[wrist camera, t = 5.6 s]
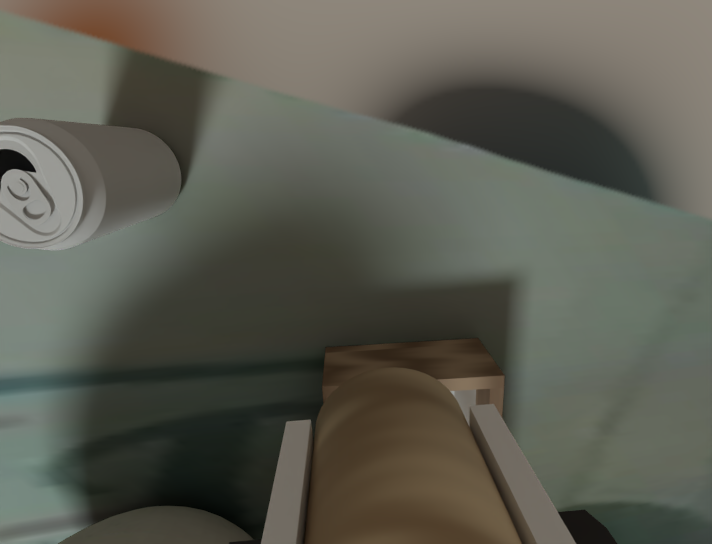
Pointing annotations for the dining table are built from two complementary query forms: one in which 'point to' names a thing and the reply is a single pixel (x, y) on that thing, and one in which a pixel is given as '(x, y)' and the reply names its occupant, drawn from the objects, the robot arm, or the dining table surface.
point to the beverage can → (79, 181)
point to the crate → (424, 367)
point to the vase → (161, 528)
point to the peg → (400, 467)
